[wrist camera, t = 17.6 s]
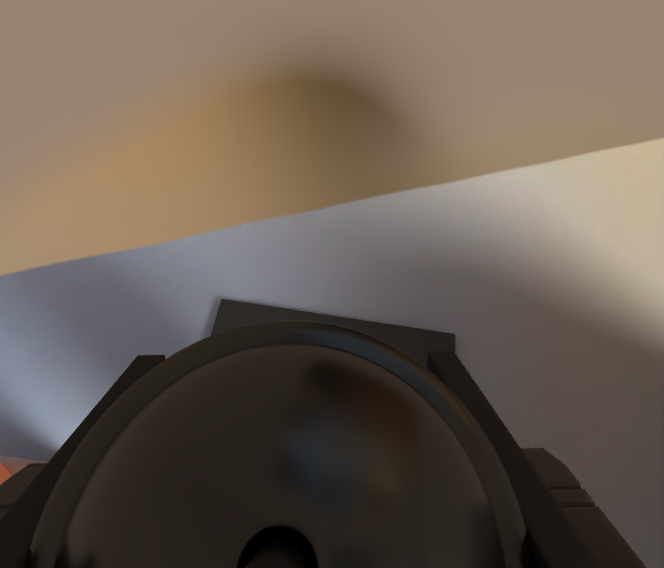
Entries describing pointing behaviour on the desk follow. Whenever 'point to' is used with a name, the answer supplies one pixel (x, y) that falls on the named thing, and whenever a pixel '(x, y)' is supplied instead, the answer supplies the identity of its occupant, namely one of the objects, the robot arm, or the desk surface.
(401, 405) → the drinking cup
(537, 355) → the desk surface
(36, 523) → the robot arm
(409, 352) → the mat
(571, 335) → the desk surface
